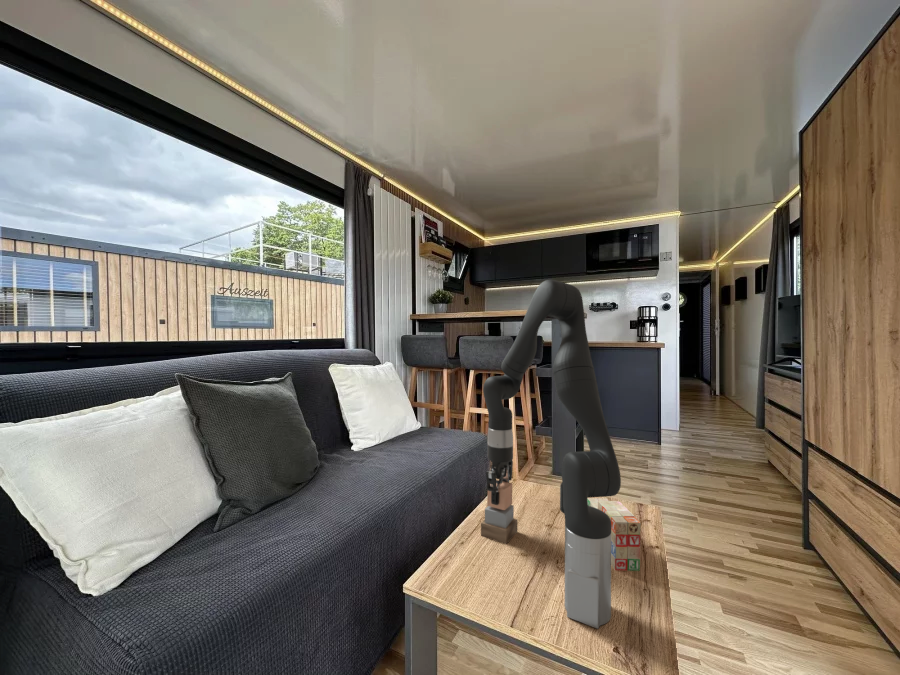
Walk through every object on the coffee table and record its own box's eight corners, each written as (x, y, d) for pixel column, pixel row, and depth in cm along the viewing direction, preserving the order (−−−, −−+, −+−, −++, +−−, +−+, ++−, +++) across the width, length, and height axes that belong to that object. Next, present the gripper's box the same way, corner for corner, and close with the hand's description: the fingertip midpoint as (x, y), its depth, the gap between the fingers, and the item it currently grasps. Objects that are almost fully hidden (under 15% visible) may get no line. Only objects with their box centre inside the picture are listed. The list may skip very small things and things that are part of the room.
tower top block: (505, 528, 106) (505, 514, 106) (484, 522, 109) (484, 509, 109) (513, 518, 112) (513, 505, 112) (493, 513, 115) (493, 500, 115)
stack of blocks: (586, 528, 114) (586, 487, 115) (607, 528, 114) (607, 488, 114) (615, 571, 93) (615, 521, 93) (640, 571, 93) (640, 521, 93)
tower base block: (506, 545, 105) (506, 530, 105) (480, 536, 109) (480, 522, 109) (517, 532, 112) (517, 519, 112) (493, 525, 116) (493, 512, 116)
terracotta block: (504, 510, 107) (504, 489, 107) (487, 505, 110) (487, 485, 110) (512, 503, 112) (512, 483, 112) (495, 499, 115) (495, 479, 115)
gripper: (501, 451, 103) (501, 512, 103) (521, 439, 115) (520, 494, 115) (477, 446, 107) (477, 506, 107) (498, 436, 119) (498, 489, 119)
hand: (499, 500), depth 111 cm, fingers open, 5 cm apart
